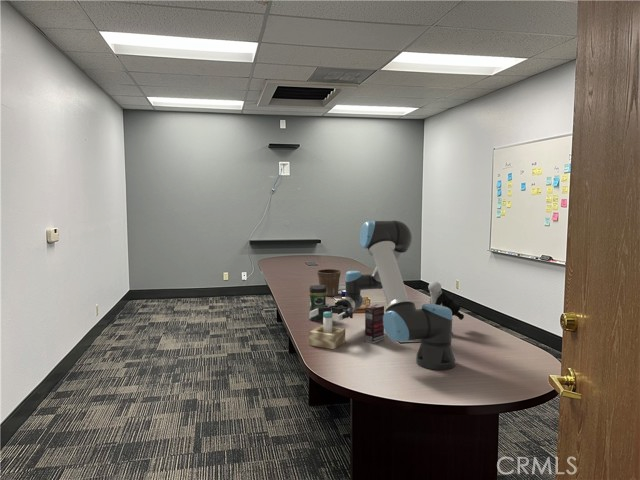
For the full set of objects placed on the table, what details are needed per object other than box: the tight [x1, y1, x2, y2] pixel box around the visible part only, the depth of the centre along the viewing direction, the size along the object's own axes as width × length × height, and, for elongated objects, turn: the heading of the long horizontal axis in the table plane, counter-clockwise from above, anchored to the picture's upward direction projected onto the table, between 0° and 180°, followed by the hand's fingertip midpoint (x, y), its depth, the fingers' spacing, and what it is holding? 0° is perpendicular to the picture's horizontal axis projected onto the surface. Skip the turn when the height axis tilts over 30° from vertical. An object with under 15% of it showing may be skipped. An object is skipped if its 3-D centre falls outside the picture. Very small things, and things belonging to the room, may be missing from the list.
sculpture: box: [427, 281, 465, 321], centre depth 228 cm, size 15×24×25 cm, turn 110°
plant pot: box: [316, 268, 342, 297], centre depth 311 cm, size 16×16×16 cm
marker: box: [322, 311, 333, 334], centre depth 208 cm, size 4×4×14 cm
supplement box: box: [364, 304, 385, 344], centre depth 213 cm, size 9×5×16 cm, turn 134°
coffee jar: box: [308, 284, 327, 322], centre depth 249 cm, size 10×8×19 cm
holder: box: [308, 324, 346, 350], centre depth 209 cm, size 12×12×6 cm
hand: (324, 316), depth 205 cm, fingers open, 13 cm apart
